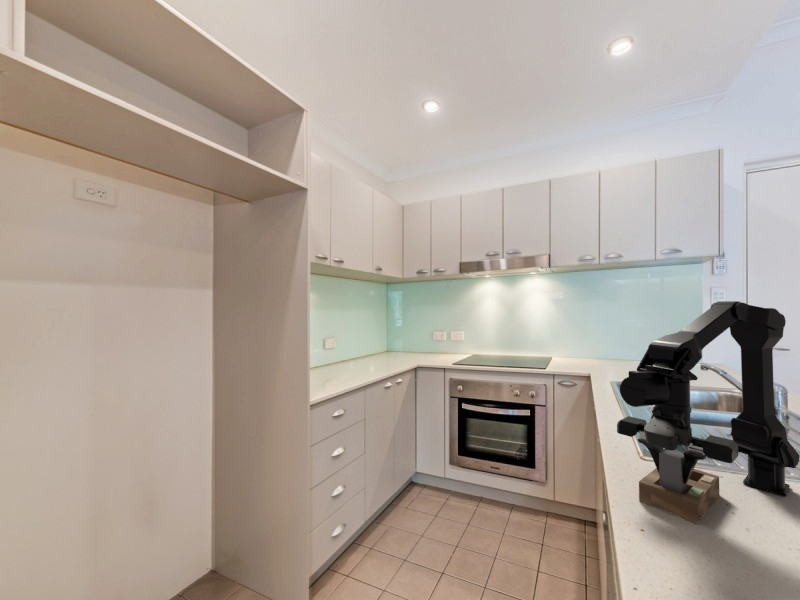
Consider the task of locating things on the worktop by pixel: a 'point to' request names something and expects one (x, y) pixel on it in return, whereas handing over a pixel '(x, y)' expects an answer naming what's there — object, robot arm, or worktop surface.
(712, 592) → the worktop surface
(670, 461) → the plug
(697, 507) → the socket block
